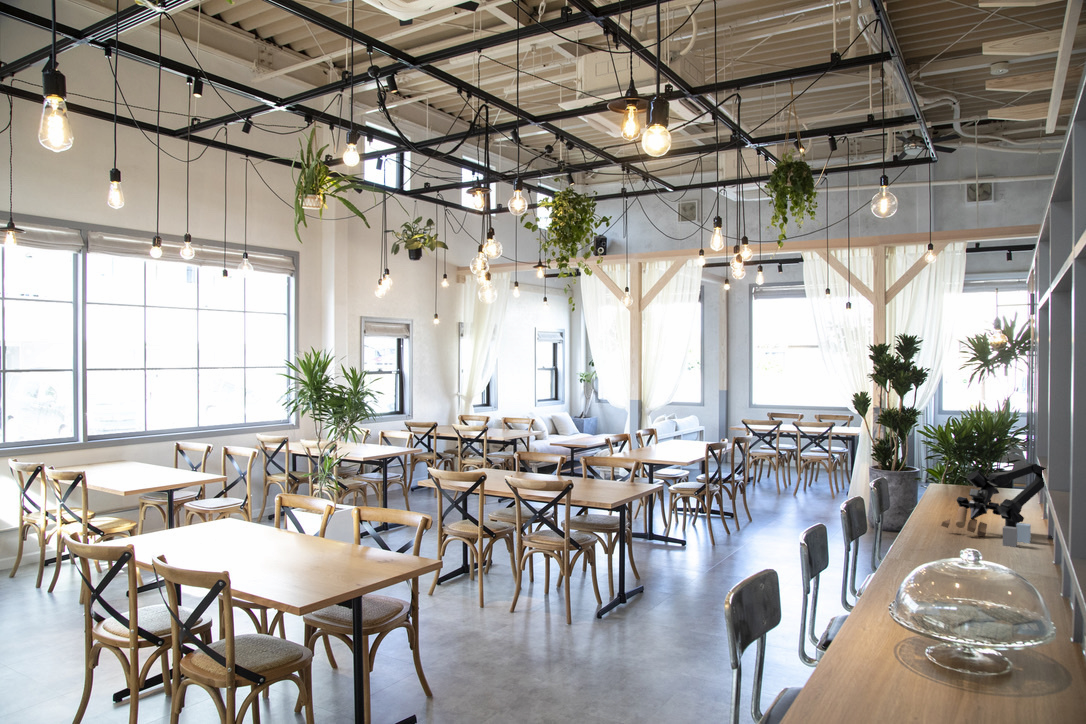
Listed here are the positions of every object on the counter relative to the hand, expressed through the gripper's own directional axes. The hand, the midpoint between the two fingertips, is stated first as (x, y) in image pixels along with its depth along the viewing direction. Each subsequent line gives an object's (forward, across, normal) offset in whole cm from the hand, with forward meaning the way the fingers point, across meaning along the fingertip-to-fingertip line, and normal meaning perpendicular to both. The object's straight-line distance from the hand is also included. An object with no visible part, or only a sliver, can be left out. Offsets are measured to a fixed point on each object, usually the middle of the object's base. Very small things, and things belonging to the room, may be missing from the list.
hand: (971, 518), depth 340 cm
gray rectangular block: (+8, +19, +2) cm, 21 cm away
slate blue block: (-2, +19, +12) cm, 22 cm away
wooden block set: (+6, -2, +2) cm, 7 cm away
